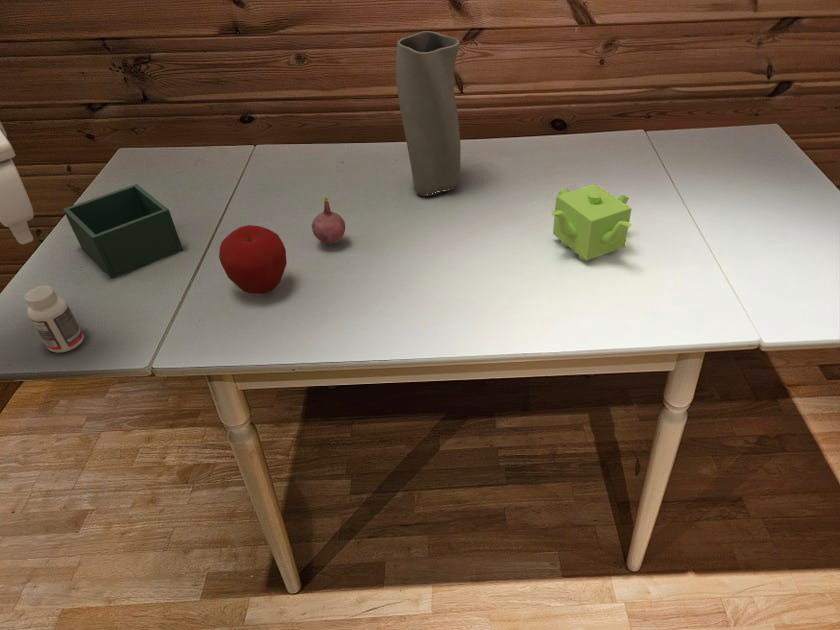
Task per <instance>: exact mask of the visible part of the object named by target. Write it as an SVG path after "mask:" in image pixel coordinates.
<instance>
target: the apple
mask: <svg viewBox="0 0 840 630" xmlns="http://www.w3.org/2000/svg"><path fill="white" fill-rule="evenodd" d="M218 251H219V252H218V253H219V254H218V258H219V262H220V265H221V267H222V268H223V271H224V272H225V274H226V276H227V278H228V279H229V280H230V281H231V282H232V283H234V284H235V285H236V287H237V288H239V289H240V290H241V291H242V292H243V293H247V294H250V295H263V294H264V295H265V294H268V293H270V292H272V291H273V290H274V289H276V288H277V287H278V286H279V285H280V283H281V281H282V279H283V275H284V273H285V270H286V268H287V249H286V246H285V244H284V242H283V240H282V239H281V237H280V236H279V234H278V233H276V232H275V231H273V230H272V229H269V228H266V227H264V226H260V225H252V224H249V225H244V226H239V227H238V228H236V229H234V230H232V231H231V232H230V233H229V234H228V235H226V236H225V238H224V239H222V241H221V243H220V245H219V250H218Z"/></svg>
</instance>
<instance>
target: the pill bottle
mask: <svg viewBox="0 0 840 630" xmlns="http://www.w3.org/2000/svg"><path fill="white" fill-rule="evenodd" d="M23 298H24V301H25V303H26V304H27V305H28V307H27V311H26V312H27V316H28V319H29V320H30V321H31V323H32V325H33V327H34V328H35V330H36V331H37V333H38V335H39V337H40V338H41V340H42V341H43V343H44V345H45V346H46V348H47V350H49V351H50V352H53V353H59V354H60V353H66V352H69V351H72V350H74V349H76V348H77V347H78V346H80V345H81V344H82V343H83V342H84V338H85V335H84V333H83V331H82V329H81V327H80V325H79V323H78V322H77V319H76V318H75V315H74V314H73V312H72V309H71V308H70V306H69V304H68V303H67V301H66V300H65V299H63V297H60V296H58V295H57V292H56V291H55V289H54V288H53V287H52V286H50V285H39V286H35V287H33V288H31V289H29V290H28V291H26V293H24V297H23Z"/></svg>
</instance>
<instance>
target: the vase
mask: <svg viewBox="0 0 840 630" xmlns="http://www.w3.org/2000/svg"><path fill="white" fill-rule="evenodd" d="M459 46H460V40H459V39H458V38H456V37H454V36H449V35H444V34H442V33H438V32H436V31H432V30H431V31H430V30H424V31H419V32H417V33H414V34H412V35H409V36H405V37H402V38H400V39H398V40H397V43H396V54H395V55H396V57H395V80H396V81H395V83H396V91H397V98H398V105H399V106H398V107H399V111H400V115H401V121H402V127H403V131H404V137H405V142H406V147H407V152H408V158H409V163H410V170H411V175H412V183H413V188H414V191H415V192H416V193H417V194H418V195H420V196H422V197H430V196H434V195H437V194H440V193H445V192H449V191H450V190H448V189H451V190H453V189H454V188H456V187H457V186H458V184H459V183H460V177H461V160H462V159H461V153H462V152H461V150H462V149H461V148H462V147H461V134H460V133H461V132H460V121H459V114H458V108H457V102H456V101H457V100H456V93H455V85H454V84H455V66H456V62H457V55H458V52H459ZM456 185H457V186H456ZM455 186H456V187H455ZM453 187H454V188H453ZM452 188H453V189H452ZM443 190H447V191H443ZM437 191H440V192H437ZM435 192H436V193H435ZM432 193H433V194H432ZM427 194H428V195H427Z"/></svg>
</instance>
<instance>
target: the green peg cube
mask: <svg viewBox="0 0 840 630" xmlns="http://www.w3.org/2000/svg"><path fill="white" fill-rule="evenodd" d="M629 199H630V197H629V196H627V195H626V194H620V195H619V196H618V197H616V196H614V195H613V194H611V193H610V192H608V191H606V190H605V189H603V188H602V187H600V186H599V185H598V184H596V183H594V184H590V185H587V186H584V187H580V188H577V189H574V190H570V189H569V188H563V189H561V190H560V191H559V192H558V194H557V195H556V197H555V208H554V210H553V211H551V212H550V215H552V216H554V219H553V228H552V229H553V230H552V235H554V236H555V237H556V238H558V240H560V241H561V246H563V247H566V248H570V249H571V250H572V251H573V252H574V253H576V254H578V259H579V260H581V261H583V262H588V261H590V260H592V259H595V258H597V257H600V256H603V255H606V254H609V253H613V252H614V251H617V250H621V249H623V248H625V247H626V242H627V237H628V232H629V231H628V230H629V228H630V227H632V224H631V223H630V221H631V220H630V219H631V214H632V207H631V206H629V205H628V204H627V203H628V201H629Z"/></svg>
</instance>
